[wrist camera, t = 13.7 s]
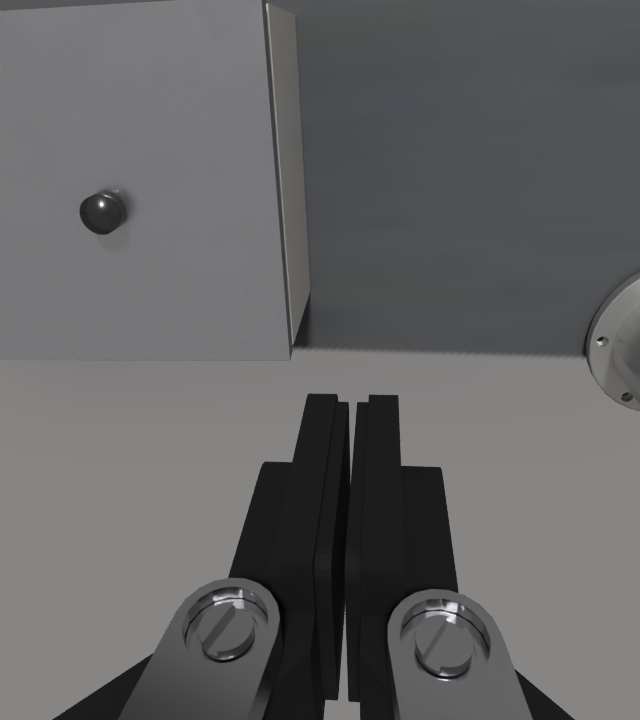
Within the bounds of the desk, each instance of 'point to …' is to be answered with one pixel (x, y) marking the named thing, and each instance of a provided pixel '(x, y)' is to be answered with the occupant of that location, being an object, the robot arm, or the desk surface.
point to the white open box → (290, 157)
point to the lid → (140, 184)
